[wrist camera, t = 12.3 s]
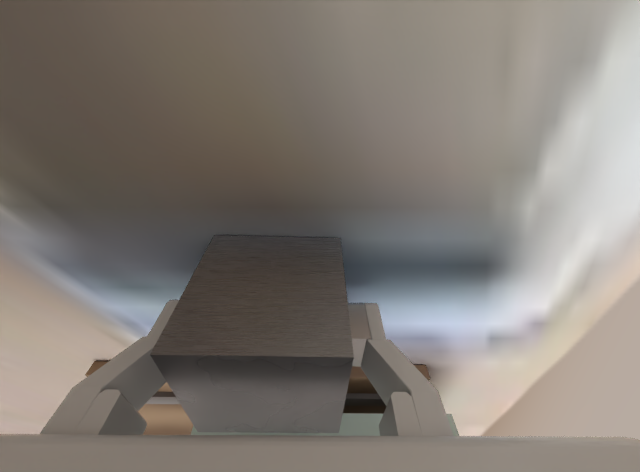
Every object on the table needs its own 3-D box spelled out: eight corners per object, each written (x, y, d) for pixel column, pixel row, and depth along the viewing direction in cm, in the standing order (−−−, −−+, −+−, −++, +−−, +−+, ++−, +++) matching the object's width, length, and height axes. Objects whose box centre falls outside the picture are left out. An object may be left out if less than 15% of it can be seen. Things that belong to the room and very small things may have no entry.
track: (94, 361, 16) (81, 380, 15) (425, 365, 16) (432, 383, 16) (184, 464, 28) (179, 478, 27) (375, 464, 28) (377, 478, 27)
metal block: (214, 234, 11) (149, 354, 7) (340, 237, 11) (353, 356, 7) (233, 315, 14) (197, 432, 9) (332, 317, 14) (338, 433, 10)
